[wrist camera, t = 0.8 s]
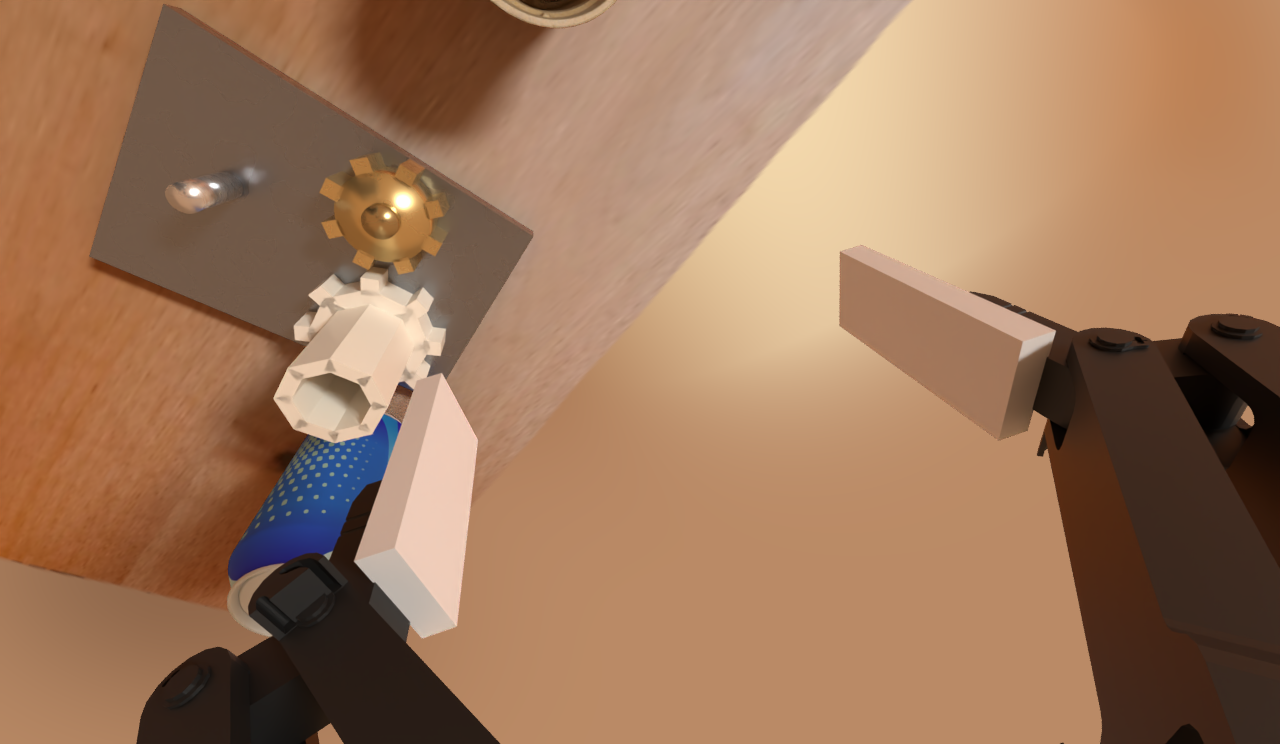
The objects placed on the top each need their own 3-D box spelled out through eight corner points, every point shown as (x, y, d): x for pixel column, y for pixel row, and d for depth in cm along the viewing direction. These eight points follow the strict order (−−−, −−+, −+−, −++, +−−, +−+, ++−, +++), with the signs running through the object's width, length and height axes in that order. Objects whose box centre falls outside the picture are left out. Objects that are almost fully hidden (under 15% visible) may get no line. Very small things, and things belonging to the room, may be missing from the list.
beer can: (394, 388, 40) (329, 537, 26) (435, 462, 44) (396, 623, 31) (291, 415, 39) (169, 583, 26) (343, 488, 44) (262, 664, 30)
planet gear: (291, 346, 35) (212, 430, 26) (339, 244, 32) (270, 299, 24) (412, 396, 39) (380, 484, 30) (464, 308, 36) (445, 376, 27)
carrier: (106, 249, 31) (25, 279, 26) (180, 8, 26) (99, -13, 21) (436, 390, 41) (424, 431, 36) (532, 231, 36) (534, 253, 31)
